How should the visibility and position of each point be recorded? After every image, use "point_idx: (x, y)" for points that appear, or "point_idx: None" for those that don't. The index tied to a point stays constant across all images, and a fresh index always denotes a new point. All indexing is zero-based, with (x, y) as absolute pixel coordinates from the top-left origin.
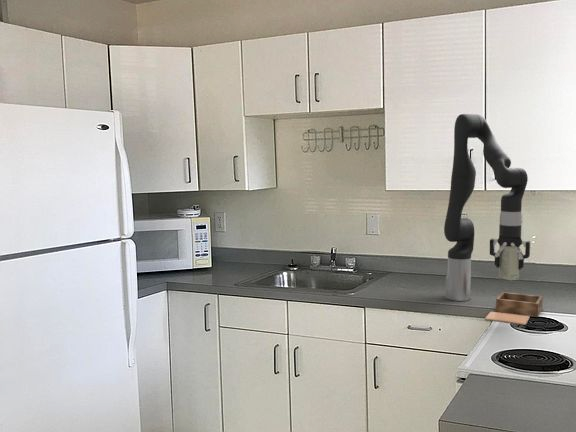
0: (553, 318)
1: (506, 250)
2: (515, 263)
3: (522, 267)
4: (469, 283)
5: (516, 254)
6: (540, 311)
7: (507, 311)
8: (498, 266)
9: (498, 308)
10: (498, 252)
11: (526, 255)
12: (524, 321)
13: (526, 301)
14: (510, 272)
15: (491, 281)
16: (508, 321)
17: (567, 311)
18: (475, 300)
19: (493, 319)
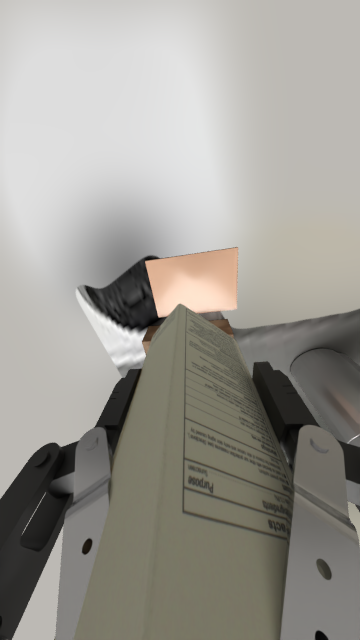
0: (124, 332)
1: (222, 551)
2: (143, 387)
3: (120, 381)
4: (313, 392)
5: (114, 477)
6: None
7: None
8: (256, 369)
9: (223, 323)
10: (323, 495)
11: (36, 473)
12: (152, 276)
13: None
14: (171, 327)
15: None
16: (181, 256)
17: (125, 374)
18: (278, 367)
19: (216, 250)
